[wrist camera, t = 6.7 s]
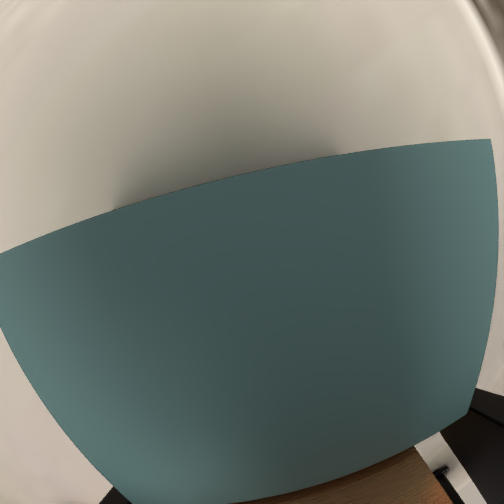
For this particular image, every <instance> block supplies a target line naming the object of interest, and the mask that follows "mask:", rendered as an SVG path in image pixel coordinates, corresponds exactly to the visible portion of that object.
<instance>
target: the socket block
mask: <svg viewBox="0 0 504 504" xmlns="http://www.w3.org/2000/svg"><path fill="white" fill-rule="evenodd" d="M497 264H498V198H497V184H496V174H495V165H494V157H493V150H492V144H491V139H478V140H461V141H447V142H436V143H425V144H415V145H406V146H398V147H390V148H382V149H375V150H368V151H361V152H354V153H348V154H342V155H336V156H330V157H324V158H318V159H313V160H307V161H302V162H297V163H292V164H287V165H282V166H277V167H272V168H268V169H263V170H259V171H254V172H250V173H245V174H241V175H237V176H233V177H229V178H224V179H220V180H216V181H212V182H209V183H205V184H201V185H197V186H193V187H190V188H186V189H182V190H179V191H175V192H172V193H168V194H165V195H161V196H158V197H154V198H151V199H148V200H144V201H141V202H138V203H135V204H132V205H128V206H125V207H122V208H119V209H116V210H113V211H110V212H107V213H104V214H101V215H98V216H95V217H92V218H89V219H87V220H84V221H81V222H78V223H75V224H73V225H70V226H67V227H65V228H62V229H59V230H57V231H54V232H51V233H49V234H46V235H44V236H41V237H39V238H36V239H34V240H31V241H29V242H26V243H24V244H22V245H19V246H17V247H14V248H12V249H10V250H8V251H5V252H3V253H1V254H0V327H1V330H2V332H3V334H4V336H5V338H6V340H7V342H8V344H9V346H10V348H11V350H12V352H13V354H14V356H15V357H16V359H17V361H18V363H19V365H20V366H21V368H22V370H23V372H24V373H25V375H26V377H27V378H28V380H29V382H30V383H31V385H32V387H33V388H34V390H35V391H36V393H37V394H38V396H39V397H40V399H41V400H42V402H43V403H44V405H45V406H46V408H47V409H48V411H49V412H50V413H51V415H52V416H53V418H54V419H55V420H56V422H57V423H58V424H59V426H60V427H61V428H62V430H63V431H64V432H65V433H66V435H67V436H68V437H69V438H70V440H71V441H72V442H73V443H74V444H75V446H76V447H77V448H78V449H79V450H80V451H81V453H82V454H83V455H84V456H85V457H86V458H87V459H88V461H89V462H90V463H91V464H92V465H93V466H94V467H95V468H96V469H97V470H98V471H99V472H100V473H101V474H102V475H103V476H104V477H105V478H106V479H107V480H108V481H109V482H110V483H111V484H112V485H113V486H114V487H115V488H116V489H117V490H118V491H119V492H120V493H121V494H122V495H123V496H125V497H126V498H127V499H128V500H129V501H130V502H131V503H132V504H230V503H237V502H244V501H250V500H256V499H261V498H266V497H271V496H276V495H280V494H285V493H289V492H293V491H297V490H301V489H304V488H308V487H311V486H315V485H318V484H321V483H325V482H328V481H331V480H334V479H337V478H340V477H343V476H345V475H348V474H351V473H354V472H356V471H359V470H361V469H364V468H366V467H369V466H371V465H373V464H376V463H378V462H380V461H383V460H385V459H387V458H389V457H391V456H394V455H396V454H398V453H400V452H402V451H404V450H406V449H408V448H410V447H412V446H414V445H416V444H418V443H419V442H421V441H423V440H425V439H427V438H428V437H430V436H432V435H434V434H435V433H437V432H439V431H441V430H442V429H444V428H445V427H447V426H449V425H450V424H452V423H453V422H455V421H457V420H458V419H460V418H461V417H463V416H464V415H466V414H467V412H468V409H469V406H470V403H471V400H472V397H473V394H474V391H475V387H476V384H477V381H478V377H479V373H480V370H481V366H482V362H483V358H484V354H485V349H486V345H487V340H488V335H489V330H490V324H491V318H492V312H493V304H494V297H495V288H496V277H497Z"/></svg>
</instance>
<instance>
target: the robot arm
mask: <svg viewBox="0 0 504 504" xmlns="http://www.w3.org/2000/svg"><path fill="white" fill-rule="evenodd" d="M440 433H441V435H442V437H443V438H444V440H445V441H446V442H447V444H448V445H449V447H450V448H451V450H452V451H453V453H454V454H455V456H456V457H457V458H458V460H459V461H460V463H461V464H462V466H463V467H464V469H465V470H466V472H467V473H468V475H469V476H470V478H471V479H472V481H473V482H474V484H475V485H476V487H477V488H478V490H479V492H480V493H481V495H482V496H483V498H484V499H485V501H486V502H487V504H504V396H501V395H498V394H494V393H491V392H488V391H484V390H481V389H478V388H475V391H474V394H473V397H472V400H471V403H470V406H469V409H468V412H467V414H466V415H464V416H463V417H461V418H460V419H458V420H457V421H455V422H453V423H452V424H450V425H449V426H447V427H445V428H444V429H442V430H441V431H440ZM449 469H450V468H449V467H448V466H445V467H444V468H442V469H440V470H439V471H437V472H435V473H434V474H433V475H434V476H435V478H436V479H437V480H438V482H439V483H440V485H441V486H442V488H443V489H444V491H445V492H446V494H447V495H448V497H449V498H450V500H451V501H452V503H453V504H465V503H464V502H463V500H462V499H461V498H460V496H459V495H458V493H457V492H456V490H455V489H454V487H453V486H452V485H451V483H450V482H449V480H448V479H447V478H446V475H447V473H448V471H449ZM99 504H132V503H131V502H130V501H129V500H128V499H127V498H126V497H125V496H123V495H122V494H121V493H120V492H119V491H118V490H117V489H116V488H115V487H114V486H113V487H112V489H111V490H110V491H109V492H108V493H107V495H106V496H105V497H104V498H103V499H102V501H101V502H100V503H99Z"/></svg>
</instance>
